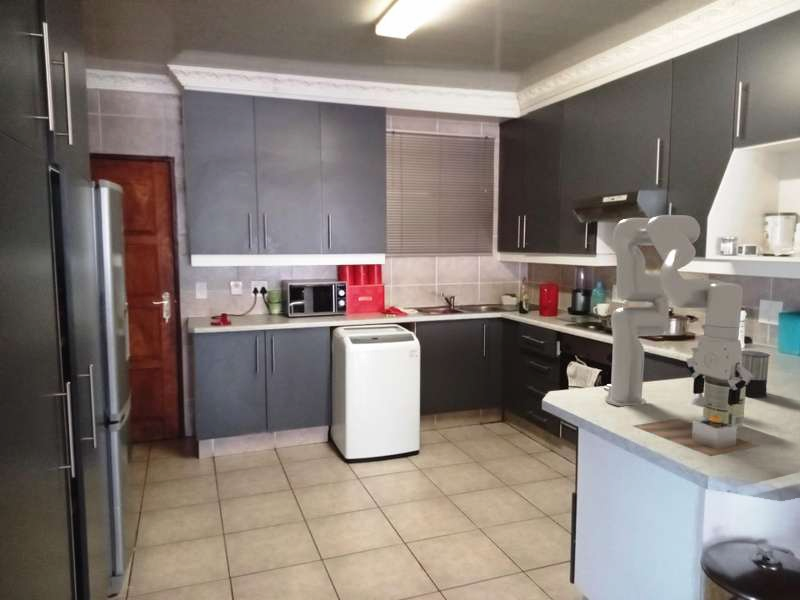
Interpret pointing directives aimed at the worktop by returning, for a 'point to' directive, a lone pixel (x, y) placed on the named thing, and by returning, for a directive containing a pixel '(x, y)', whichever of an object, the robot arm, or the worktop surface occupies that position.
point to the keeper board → (688, 436)
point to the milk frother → (756, 372)
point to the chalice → (700, 399)
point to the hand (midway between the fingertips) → (715, 398)
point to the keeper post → (715, 420)
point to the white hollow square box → (714, 434)
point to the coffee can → (722, 402)
